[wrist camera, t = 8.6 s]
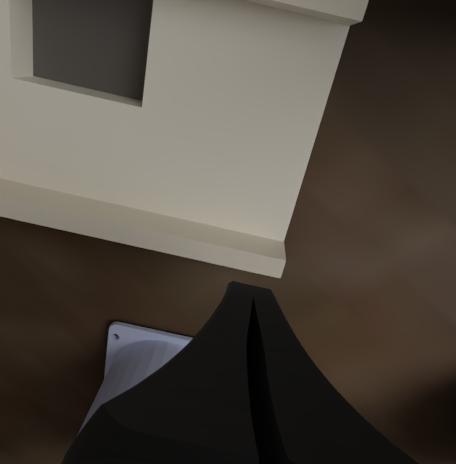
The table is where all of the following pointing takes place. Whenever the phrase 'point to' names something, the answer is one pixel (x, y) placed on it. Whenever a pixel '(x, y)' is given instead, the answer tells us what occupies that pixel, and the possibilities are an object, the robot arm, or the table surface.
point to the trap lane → (166, 119)
